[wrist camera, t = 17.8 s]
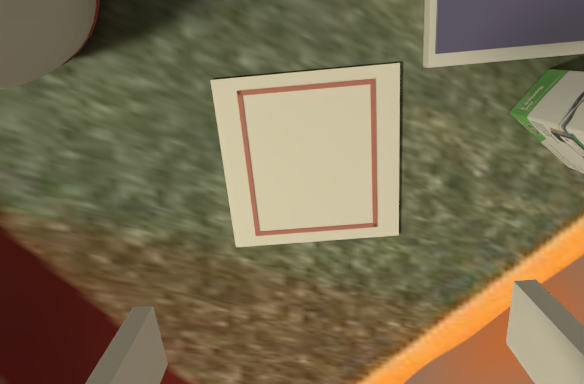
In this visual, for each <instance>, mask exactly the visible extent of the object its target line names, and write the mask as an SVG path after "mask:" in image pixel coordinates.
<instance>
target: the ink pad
mask: <svg viewBox="0 0 584 384" xmlns="http://www.w3.org/2000/svg"><path fill="white" fill-rule="evenodd" d="M575 54H584V0H425V10H424V47H423V67H427V68H430V67H441V66H452V65H463V64H474V63H485V62H497V61H508V60H519V59H530V58H541V57H552V56H564V55H575Z"/></svg>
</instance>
